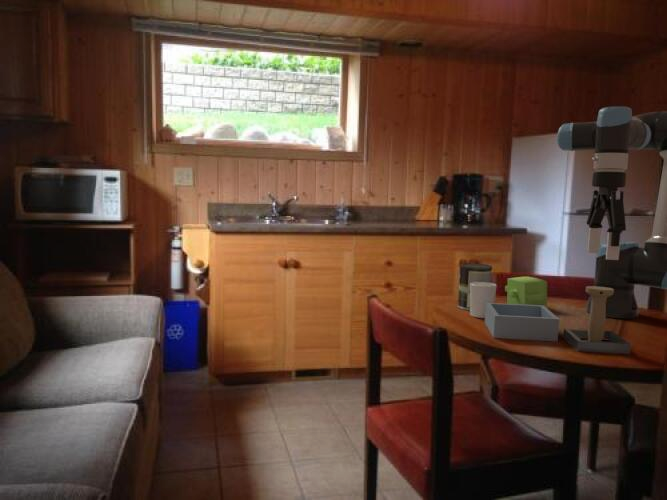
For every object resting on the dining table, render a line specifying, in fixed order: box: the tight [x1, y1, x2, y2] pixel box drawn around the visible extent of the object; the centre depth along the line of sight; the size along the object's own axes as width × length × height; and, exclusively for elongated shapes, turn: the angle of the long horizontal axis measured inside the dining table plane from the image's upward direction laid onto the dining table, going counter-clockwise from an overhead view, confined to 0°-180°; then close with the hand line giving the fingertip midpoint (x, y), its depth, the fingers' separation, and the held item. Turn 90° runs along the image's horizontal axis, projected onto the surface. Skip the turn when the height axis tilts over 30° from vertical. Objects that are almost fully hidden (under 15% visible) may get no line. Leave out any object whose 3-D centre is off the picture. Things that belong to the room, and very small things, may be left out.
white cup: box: [469, 282, 497, 319], centre depth 175 cm, size 8×8×10 cm
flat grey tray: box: [562, 328, 632, 355], centre depth 146 cm, size 12×12×2 cm
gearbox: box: [504, 276, 548, 309], centre depth 190 cm, size 18×10×10 cm, turn 15°
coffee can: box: [457, 262, 493, 312], centre depth 185 cm, size 10×10×14 cm
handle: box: [585, 285, 614, 341], centre depth 145 cm, size 5×6×15 cm
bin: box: [484, 302, 560, 342], centre depth 157 cm, size 16×16×6 cm
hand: (602, 256), depth 143 cm, fingers open, 13 cm apart
